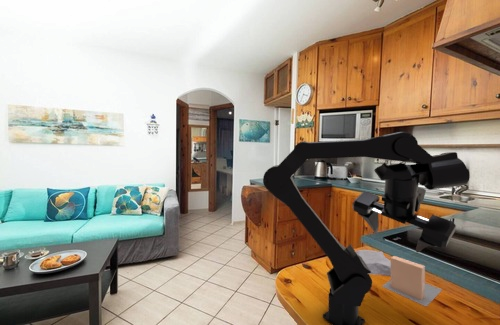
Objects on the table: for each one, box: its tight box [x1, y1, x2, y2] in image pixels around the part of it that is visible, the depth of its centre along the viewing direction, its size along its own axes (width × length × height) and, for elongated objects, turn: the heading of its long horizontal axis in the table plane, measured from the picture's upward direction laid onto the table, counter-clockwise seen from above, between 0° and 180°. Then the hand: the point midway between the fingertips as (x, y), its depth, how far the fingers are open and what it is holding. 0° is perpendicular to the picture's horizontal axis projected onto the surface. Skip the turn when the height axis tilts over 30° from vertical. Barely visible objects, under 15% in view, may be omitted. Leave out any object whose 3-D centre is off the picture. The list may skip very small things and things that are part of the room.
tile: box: [390, 255, 426, 300], centre depth 58 cm, size 2×7×8 cm, turn 34°
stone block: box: [355, 249, 391, 277], centre depth 72 cm, size 12×5×10 cm
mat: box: [381, 279, 443, 307], centre depth 60 cm, size 11×10×1 cm
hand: (395, 240), depth 54 cm, fingers open, 9 cm apart
